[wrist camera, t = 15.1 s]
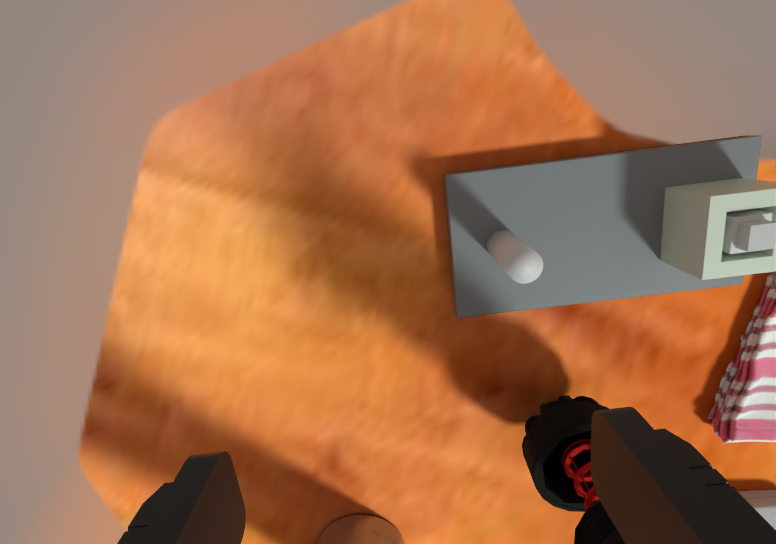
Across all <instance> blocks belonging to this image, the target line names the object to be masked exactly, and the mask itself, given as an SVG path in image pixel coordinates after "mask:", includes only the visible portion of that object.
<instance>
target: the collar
mask: <svg viewBox="0 0 776 544" xmlns="http://www.w3.org/2000/svg"><path fill="white" fill-rule="evenodd" d="M747 209H756V210H760V211H765V212H770V213H773V214H772V221H774V222H776V182H771V181H763V180H756V179H748V178H737V179H729V180H721V181H713V182H705V183H697V184H689V185H681V186H673V187H665V199H664V213H663V228H662V242H661V256H660V261H662V262H664V263H667V264H669V265H671V266H673V267H675V268H677V269H679V270H682V271H684V272H686V273H688V274H690V275H692V276H694V277H697V278H699V279H701V280H708V279H716V278H725V277H733V276H741V275H750V274H758V273H767V272H775V271H776V242H775V248H774V249H767V250H760V251H752V252H744V253H735V254H728V253H725V252H722V249H723V240H724V231H725V222H726V214H727V212H730V211H739V210H747Z"/></svg>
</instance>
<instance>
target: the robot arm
mask: <svg viewBox="0 0 776 544" xmlns="http://www.w3.org/2000/svg"><path fill="white" fill-rule="evenodd" d="M591 476H592V481H593V484H594V488H595V491H596V493H597V496H598V498H599V500H600V502H601V503H602V505H603V507H604V508H605V510H606V512H607V513H608V515H609V517H610V518H611V520H612V522H613V524H614V525H615V527H616V529H617V530H618V532H619V534H620V535H621V537H622V539H623V541H624V542H625V544H776V530H775V529H774V528H773V527H772V526H771V525H770V524H769V523H768V522H767V521H766V520H765V519H764V518H763V517H762V516H761V515H760V514H759V513H758V512H757V511H756V510H755V509H754V508H753V507H752V506H751V505H750V504H749V503H748V502H747V501H746V500H745V499H744V498H743V497H742V495H741V494H740V493H739V492H738V491H737V490H736V489H735V488H734V487H730V486H729V483H728V481H727V480H726V479H725V478H724V477H723V476H722V475H721V474H720V473H719V472H718V471H717V470H716V469H712V466H711V464H710V463H709V462H708V461H707V460H706V459H705V458H704V457H703V456H702V455H701V454H700V453H699V452H698V451H697V450H696V449H695V448H694V447H693V446H692V445H691V444H689V443H688V442H686V441H684V440H683V439H681V438H679V437H678V436H676V435H674V434H673V433H671V432H669V431H667V430H666V429H658V430H654V429H653V428H652V427H651V426H650V425H649V424H648V422H647V421H646V420H645V419H644V418H643V417H642V416H641V415H640V414H639V413H638V411H636V410H635V409H634V408H632V407H624V408H615V409H606V410H598V411H594V413H593V415H592V426H591ZM244 529H245V506H244V502H243V499H242V495H241V491H240V488H239V484H238V481H237V477H236V474H235V470H234V467H233V463H232V460H231V457H230V455H229V454H228V453H227V452H225V451H224V452H215V453H206V454H197V455H191V456H190V457H189V458H188V459H187V460H186V461H185V463H184V465H183V467H182V468H181V470H180V472H179V473H178V475H177V477H176V478H175V480H174V482H171V483H164V484H163V485H162V486H161V487H160V488H159V489H158V490H157V491H156V492H155V493H154V494H153V495H152V496H151V497H150V498H148V499H147V500H146V501H145V502H144V503H143V504H142V506H141V507H140V509H139V511H138V512H137V514H136V515H135V517H134V518H133V520H132V522H131V523H130V525H129V526H128V531H127V532H125V533H124V534H123V536H122V537H121V539H120V540H119V542H118V544H241V541H242V538H243V534H244ZM318 544H404V542H403V539H402V537H401V534H400V533H399V532H398V530H397V529H396V528H395V527H394V526H393V525H392V524H390V523H389V522H387V521H385V520H383V519H381V518H378V517H375V516H370V515H352V516H347V517H344V518H341V519H338V520H337V521H335V522H333V523H331V524H330V525H329V526H328V527H327V528H326V529H325V530H324V531H323V533H322V534H321V536H320V539H319V542H318Z"/></svg>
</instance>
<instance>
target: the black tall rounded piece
mask: <svg viewBox="0 0 776 544" xmlns="http://www.w3.org/2000/svg"><path fill="white" fill-rule="evenodd" d="M540 409H541V411H542V412H541V415H540V416H537V415H536V416H532V417H530V418H529V419H528V420H527V422H526V424H525V432H526V436H525V437H524V439H523V444H522V448H523V455H524V458H525V460H526V463H527V465H528V468H529V471H530V473H531V476H532V479H533V482H534V484H535V487H536V489H537V490H538V492H539V493H540V495H541V496H542V498H543V499H544V500H546V501H547V502H549V503H550V504H551V505H553V506H555V507H558V508H561V509H564V510H567V511H583V512H585V513H584V515H583V517H582V518H581V520H580V522H579V524H578V525H577V527H576V529H575V541H574V544H625V542H624V541H623V539H622V537H621V535H620V534H619V532H618V530H617V529H616V527H615V525H614V524H613V522H612V520H611V518H610V517H609V515H608V513H607V512H606V510H605V508H604V507H603V505H602V503H601V502H600V500H599V498H598V496H597V493H596V491H595V488H594V484H593V481H592V476H591V426H592V415H593V413H594V411H598V410H606V409H609V408H607V407H604V406H602V405H599V404H598V403H597V402H596V401H595V400H593V399H592V398H589V397H585V396H579V397H576V398H575V399H572V398H571V397H569V396H565V395H564V396H560V397H559V399H558V401H554V402H550V403H548V404H545V403H543V404H542V405H540Z"/></svg>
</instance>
